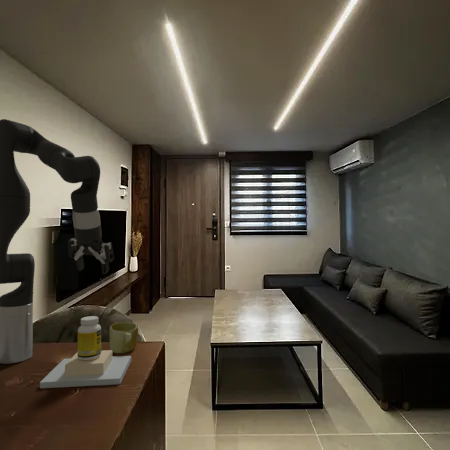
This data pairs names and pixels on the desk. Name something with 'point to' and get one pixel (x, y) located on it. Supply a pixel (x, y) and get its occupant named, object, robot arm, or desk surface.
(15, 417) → the desk surface
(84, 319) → the pill bottle
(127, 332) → the mug
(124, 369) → the board
